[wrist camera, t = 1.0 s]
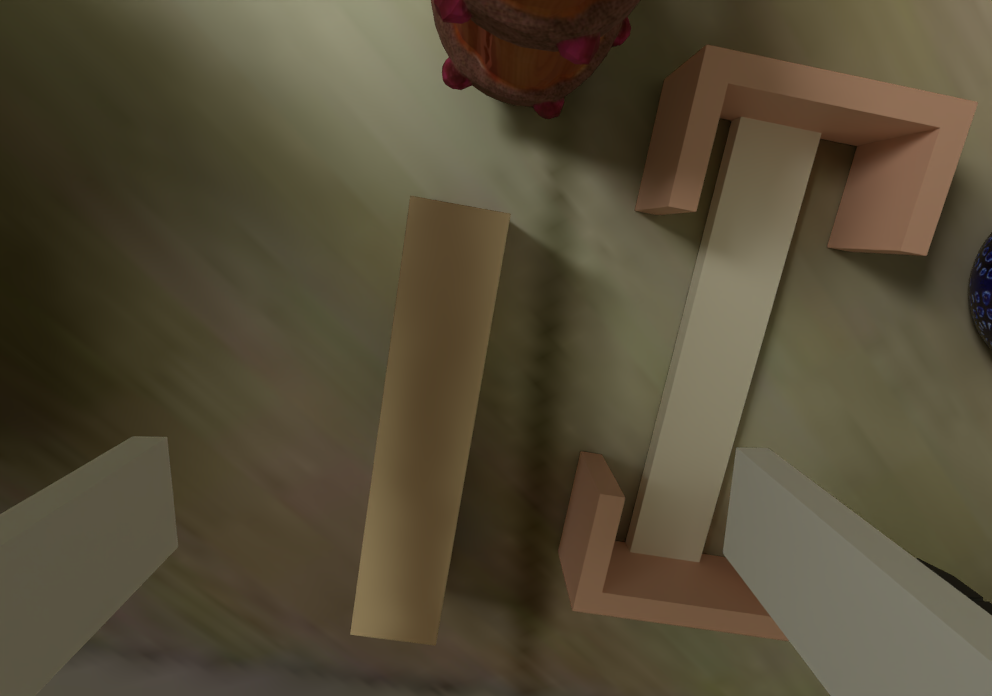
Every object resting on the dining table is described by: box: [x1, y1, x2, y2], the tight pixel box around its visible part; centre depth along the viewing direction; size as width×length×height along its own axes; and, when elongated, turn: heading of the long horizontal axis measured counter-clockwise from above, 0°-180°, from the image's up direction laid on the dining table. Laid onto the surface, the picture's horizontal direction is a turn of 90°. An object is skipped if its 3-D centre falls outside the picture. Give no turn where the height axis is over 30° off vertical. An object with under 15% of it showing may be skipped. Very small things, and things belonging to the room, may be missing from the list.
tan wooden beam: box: [350, 196, 511, 645], centre depth 26 cm, size 4×20×6 cm, turn 170°
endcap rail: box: [558, 45, 978, 641], centre depth 27 cm, size 11×25×5 cm, turn 170°
